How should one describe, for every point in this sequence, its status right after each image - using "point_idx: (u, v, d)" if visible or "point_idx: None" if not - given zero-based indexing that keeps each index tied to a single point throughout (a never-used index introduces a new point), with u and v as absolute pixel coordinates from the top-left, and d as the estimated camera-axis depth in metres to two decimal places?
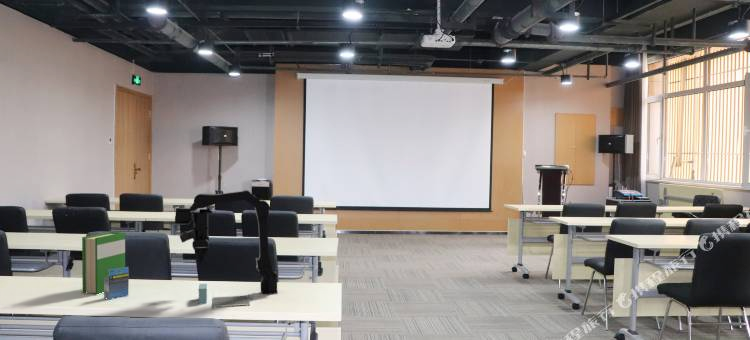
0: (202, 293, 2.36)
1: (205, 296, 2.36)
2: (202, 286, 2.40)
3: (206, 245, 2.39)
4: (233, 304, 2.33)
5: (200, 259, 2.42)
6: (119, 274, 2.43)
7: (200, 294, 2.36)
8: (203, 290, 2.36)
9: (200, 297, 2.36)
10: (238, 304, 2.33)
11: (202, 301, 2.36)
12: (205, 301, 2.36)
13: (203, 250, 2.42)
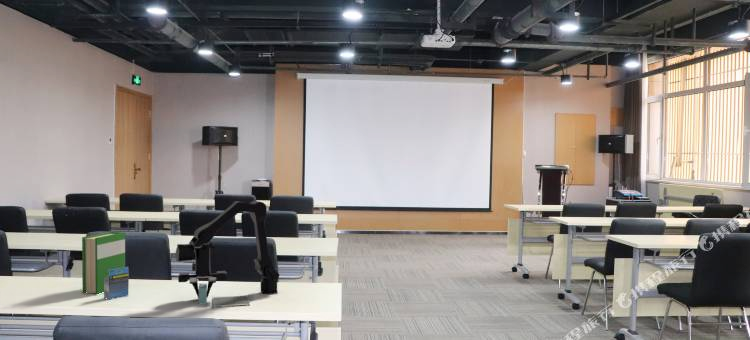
0: (202, 293, 2.36)
1: (205, 296, 2.36)
2: (202, 286, 2.40)
3: (178, 280, 2.35)
4: (233, 304, 2.33)
5: None
6: (119, 274, 2.43)
7: (200, 294, 2.36)
8: (203, 290, 2.36)
9: (200, 297, 2.36)
10: (238, 304, 2.33)
11: (202, 301, 2.36)
12: (205, 301, 2.36)
13: None
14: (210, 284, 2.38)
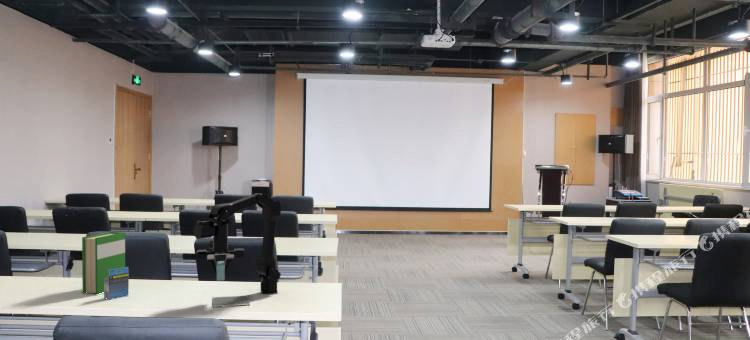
0: (220, 270, 2.33)
1: (223, 273, 2.34)
2: (220, 263, 2.37)
3: (196, 257, 2.33)
4: (233, 304, 2.33)
5: (214, 271, 2.37)
6: (119, 274, 2.43)
7: (218, 271, 2.33)
8: (221, 267, 2.33)
9: (218, 274, 2.33)
10: (238, 304, 2.33)
11: (220, 278, 2.33)
12: (223, 278, 2.34)
13: None
14: (228, 261, 2.36)
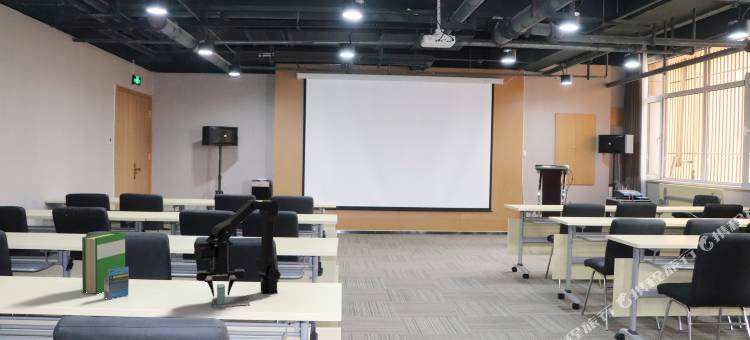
0: (220, 293, 2.33)
1: (223, 296, 2.34)
2: (220, 286, 2.37)
3: (196, 278, 2.33)
4: (233, 304, 2.33)
5: None
6: (119, 274, 2.43)
7: (218, 294, 2.33)
8: (221, 290, 2.33)
9: (219, 297, 2.33)
10: (238, 304, 2.33)
11: (220, 301, 2.34)
12: (223, 301, 2.34)
13: None
14: (231, 282, 2.36)
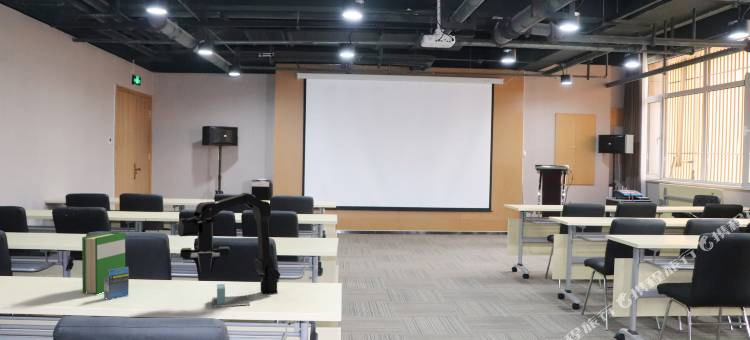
0: (220, 293, 2.33)
1: (223, 296, 2.34)
2: (220, 286, 2.37)
3: (180, 255, 2.31)
4: (233, 304, 2.33)
5: (198, 269, 2.35)
6: (119, 274, 2.43)
7: (218, 294, 2.33)
8: (221, 290, 2.33)
9: (219, 297, 2.33)
10: (238, 304, 2.33)
11: (220, 301, 2.34)
12: (223, 301, 2.34)
13: None
14: (214, 259, 2.34)
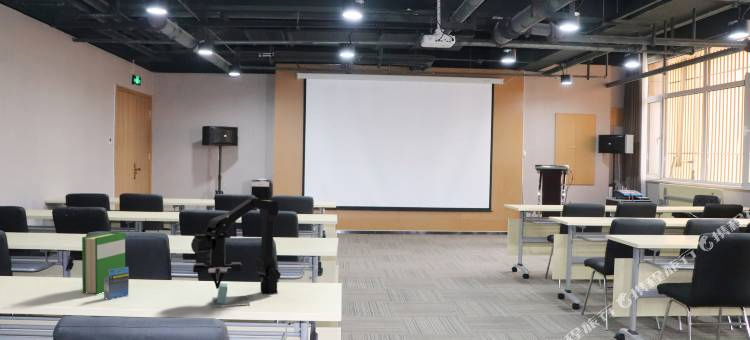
0: (222, 293, 2.34)
1: (225, 296, 2.34)
2: (223, 286, 2.37)
3: (193, 270, 2.33)
4: (233, 304, 2.33)
5: (215, 284, 2.37)
6: (119, 274, 2.43)
7: (220, 294, 2.33)
8: (224, 290, 2.34)
9: (220, 296, 2.33)
10: (238, 304, 2.33)
11: (221, 301, 2.34)
12: (224, 301, 2.34)
13: None
14: (221, 275, 2.35)
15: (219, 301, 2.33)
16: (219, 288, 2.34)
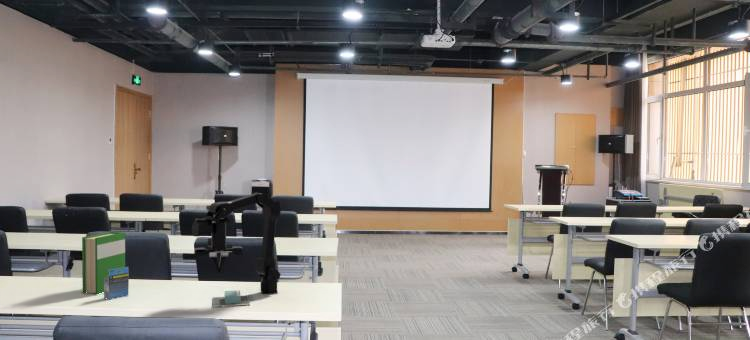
0: (235, 299, 2.35)
1: (232, 302, 2.35)
2: None
3: None
4: (233, 304, 2.33)
5: None
6: (119, 274, 2.43)
7: (234, 297, 2.35)
8: (238, 300, 2.35)
9: (231, 297, 2.35)
10: (238, 304, 2.33)
11: (227, 299, 2.34)
12: (227, 302, 2.34)
13: None
14: (222, 259, 2.36)
15: (227, 298, 2.34)
16: (239, 294, 2.36)
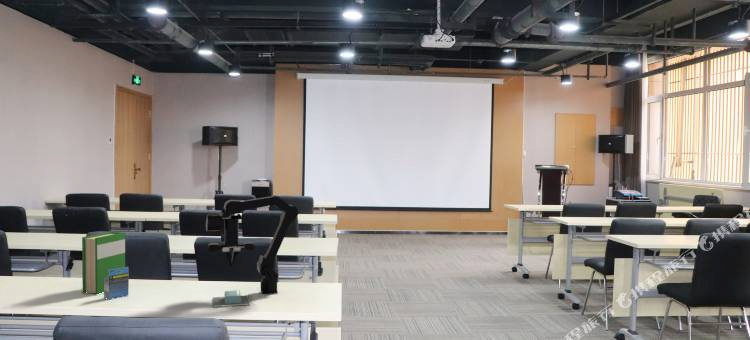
0: (235, 299, 2.35)
1: (232, 302, 2.35)
2: None
3: (208, 249, 2.44)
4: (233, 304, 2.33)
5: (229, 263, 2.49)
6: (119, 274, 2.43)
7: (234, 297, 2.35)
8: (238, 300, 2.35)
9: (231, 297, 2.35)
10: (238, 304, 2.33)
11: (227, 299, 2.34)
12: (227, 302, 2.34)
13: None
14: (235, 254, 2.47)
15: (227, 298, 2.34)
16: (239, 294, 2.36)
